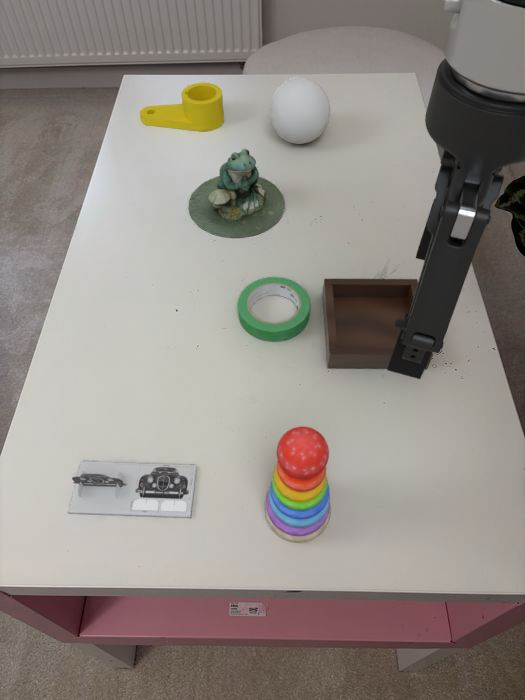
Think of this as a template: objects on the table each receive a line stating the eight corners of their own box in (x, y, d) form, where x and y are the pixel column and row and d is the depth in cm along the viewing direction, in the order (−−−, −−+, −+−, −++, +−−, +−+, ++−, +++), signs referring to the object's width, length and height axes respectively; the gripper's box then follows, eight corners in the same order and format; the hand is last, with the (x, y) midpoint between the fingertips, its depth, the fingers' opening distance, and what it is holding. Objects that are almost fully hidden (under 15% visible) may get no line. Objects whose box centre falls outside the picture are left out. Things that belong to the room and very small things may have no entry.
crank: (225, 110, 115) (223, 82, 110) (222, 131, 110) (220, 104, 105) (145, 108, 115) (139, 81, 110) (138, 130, 111) (132, 102, 106)
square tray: (426, 369, 75) (433, 355, 72) (327, 368, 75) (329, 354, 72) (412, 294, 83) (417, 278, 80) (322, 293, 84) (324, 278, 81)
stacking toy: (341, 502, 64) (364, 435, 49) (307, 558, 60) (321, 504, 45) (287, 468, 67) (293, 394, 51) (252, 519, 63) (246, 456, 47)
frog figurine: (214, 250, 89) (207, 195, 80) (173, 192, 99) (163, 136, 89) (302, 217, 94) (306, 161, 85) (256, 164, 103) (254, 108, 94)
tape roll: (229, 298, 83) (227, 287, 81) (292, 279, 85) (293, 268, 83) (253, 351, 77) (252, 340, 75) (320, 329, 79) (322, 318, 77)
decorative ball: (303, 116, 113) (306, 59, 103) (339, 142, 107) (346, 85, 98) (258, 135, 109) (257, 78, 99) (293, 163, 103) (295, 105, 94)
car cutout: (68, 513, 63) (56, 501, 60) (81, 462, 67) (71, 447, 64) (190, 518, 63) (185, 506, 59) (196, 466, 67) (192, 451, 63)
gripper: (466, -26, 36) (402, 213, 54) (399, 190, 23) (342, 415, 40) (579, -12, 35) (476, 229, 52) (579, 227, 21) (440, 444, 39)
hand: (418, 310), depth 46 cm, fingers open, 13 cm apart
